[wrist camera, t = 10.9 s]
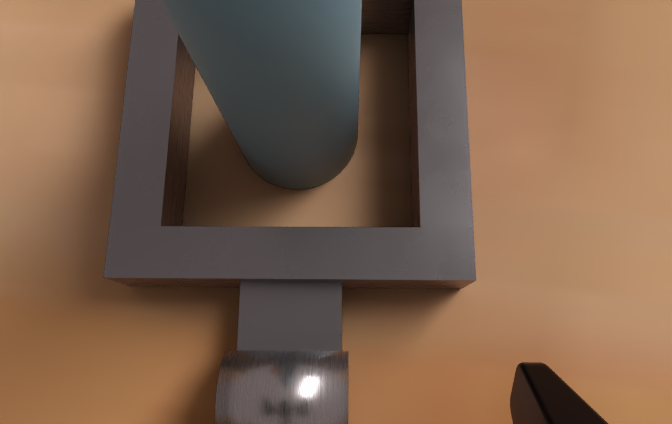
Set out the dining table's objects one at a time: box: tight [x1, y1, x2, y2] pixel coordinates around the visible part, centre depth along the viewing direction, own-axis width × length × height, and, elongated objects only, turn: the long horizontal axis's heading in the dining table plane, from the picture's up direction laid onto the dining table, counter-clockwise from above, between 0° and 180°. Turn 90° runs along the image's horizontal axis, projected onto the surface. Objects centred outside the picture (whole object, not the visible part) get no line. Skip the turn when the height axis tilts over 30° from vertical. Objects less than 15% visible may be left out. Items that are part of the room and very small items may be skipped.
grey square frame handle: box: [104, 0, 476, 424], centre depth 18 cm, size 30×10×3 cm, turn 179°
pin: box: [161, 0, 362, 189], centre depth 13 cm, size 4×4×13 cm
